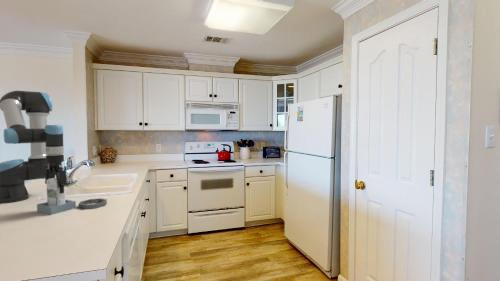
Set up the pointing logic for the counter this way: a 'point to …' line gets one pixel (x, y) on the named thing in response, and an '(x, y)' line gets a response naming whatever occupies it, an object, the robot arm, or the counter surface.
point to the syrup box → (53, 193)
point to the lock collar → (99, 201)
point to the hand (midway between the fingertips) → (56, 198)
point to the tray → (56, 207)
